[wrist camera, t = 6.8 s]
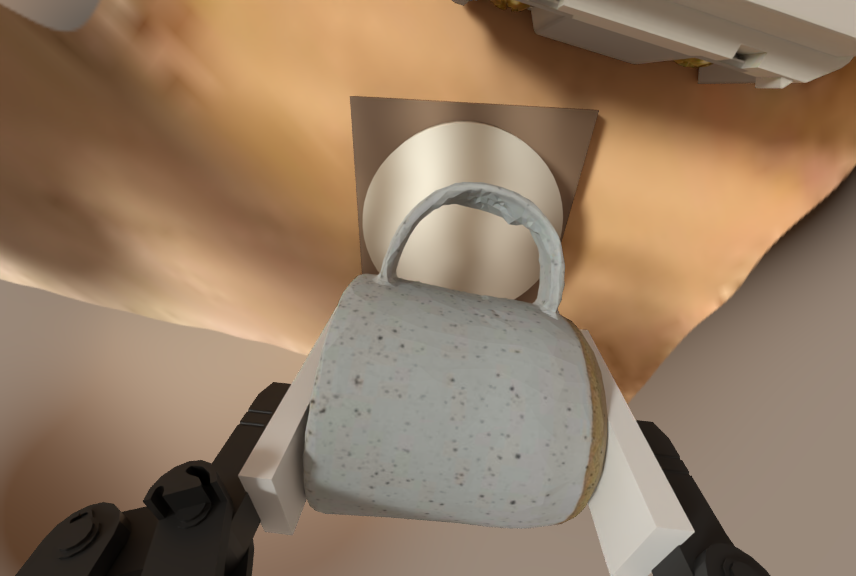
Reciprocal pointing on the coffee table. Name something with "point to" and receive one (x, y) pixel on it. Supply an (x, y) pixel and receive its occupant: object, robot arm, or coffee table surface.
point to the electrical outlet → (707, 34)
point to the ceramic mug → (456, 393)
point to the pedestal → (464, 162)
